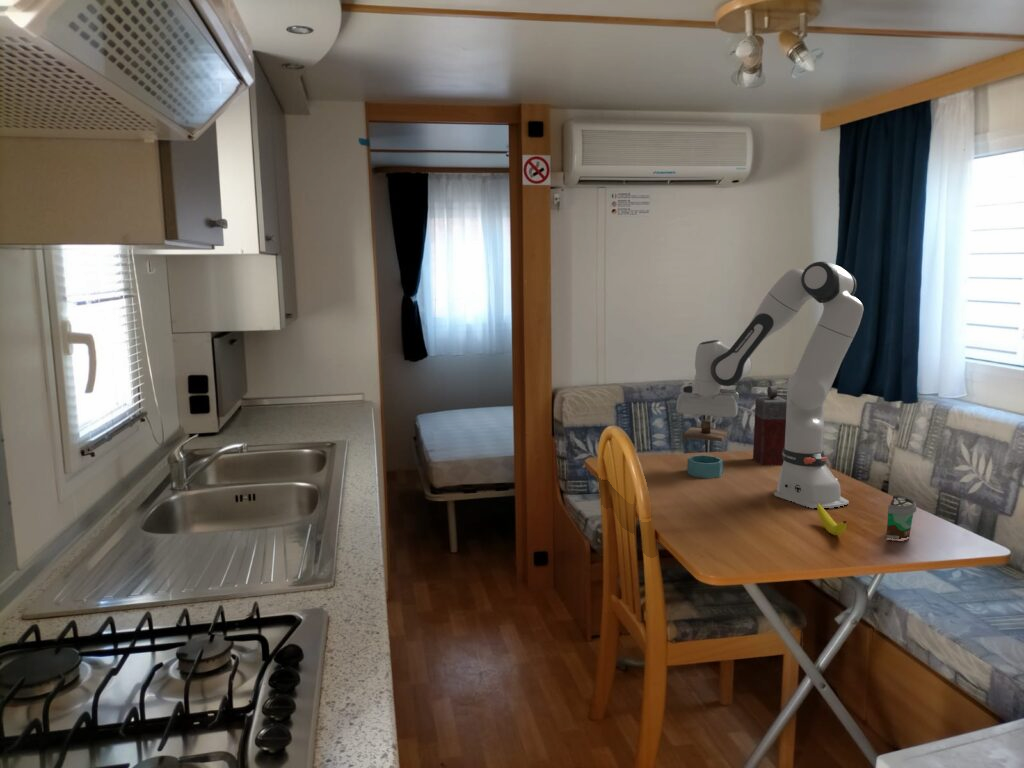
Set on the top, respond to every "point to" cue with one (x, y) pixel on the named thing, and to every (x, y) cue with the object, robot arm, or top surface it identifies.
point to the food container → (900, 516)
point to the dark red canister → (769, 428)
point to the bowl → (705, 466)
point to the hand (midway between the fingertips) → (706, 427)
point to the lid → (705, 432)
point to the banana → (830, 522)
